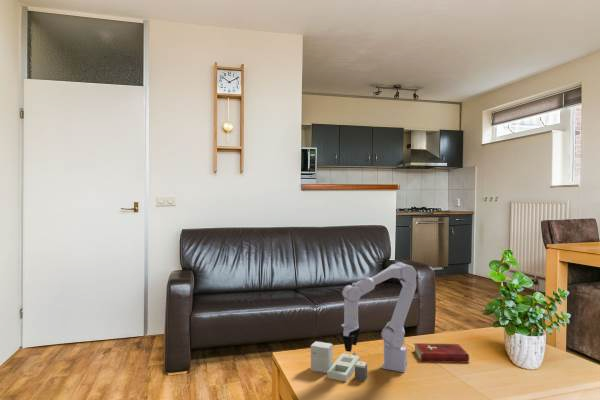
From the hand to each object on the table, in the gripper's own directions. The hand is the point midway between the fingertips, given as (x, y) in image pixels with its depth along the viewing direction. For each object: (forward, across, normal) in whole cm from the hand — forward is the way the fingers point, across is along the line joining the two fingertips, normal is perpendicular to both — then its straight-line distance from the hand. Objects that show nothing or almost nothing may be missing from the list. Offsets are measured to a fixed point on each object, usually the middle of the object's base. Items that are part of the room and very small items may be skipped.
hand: (351, 347), depth 158 cm
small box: (+10, +4, -12) cm, 16 cm away
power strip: (+10, -3, -3) cm, 11 cm away
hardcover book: (+10, -32, +32) cm, 47 cm away
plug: (+10, +5, +6) cm, 12 cm away
